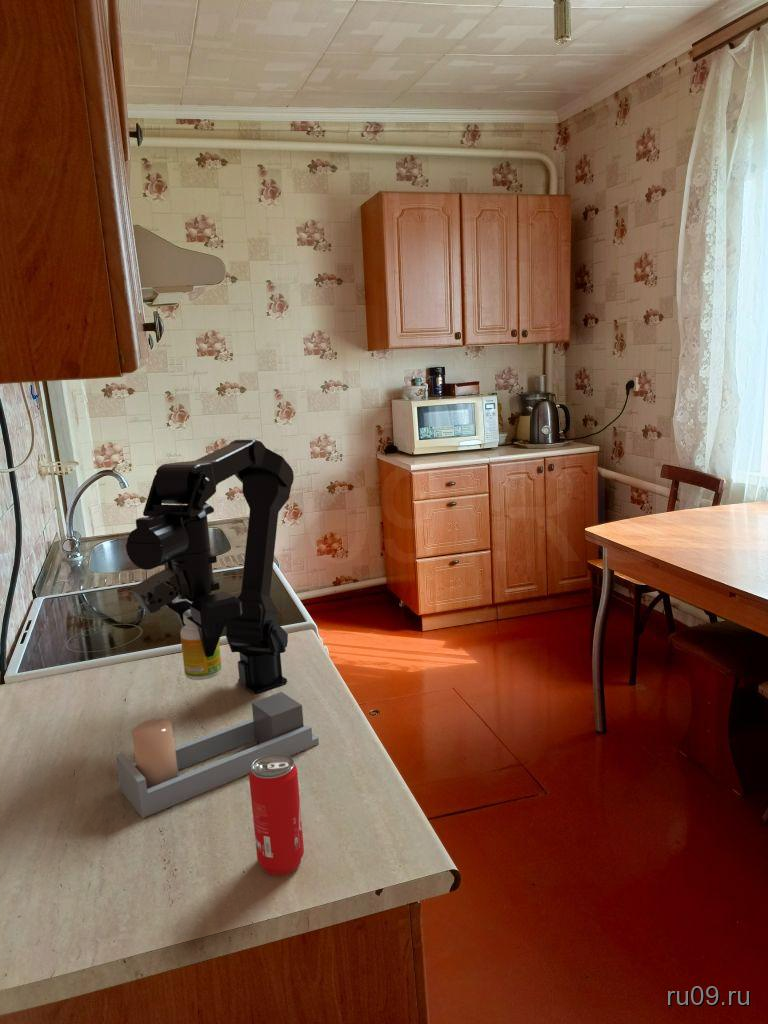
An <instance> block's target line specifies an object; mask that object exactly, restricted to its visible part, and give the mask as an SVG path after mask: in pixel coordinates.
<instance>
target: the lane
mask: <svg viewBox="0 0 768 1024" xmlns="http://www.w3.org/2000/svg"><path fill="white" fill-rule="evenodd" d="M312 730H313V729H312V727H311V726H310V725H308V724H307V725H305V726H304V727H302V728H299V729H297V730H294V731H292V732H289V733H287V734H284V735H282V736H279V737H277V738H274V739H272V740H269V741H267V742H264V743H262V744H260V743H258V744H257V745H254V746H252V747H249V748H247V749H244V750H241V751H239V752H237V753H234V754H231V755H229V756H227V757H224V758H222V759H219V760H217V761H214V762H212V763H209V764H206V765H203V766H201V767H198V768H197V769H194V770H192V771H189V772H186V773H184V774H181V775H179V777H176V778H174V779H171V780H169V781H166V782H164V783H161V784H158V785H156V786H153V787H151V788H148V789H147V785H146V779H145V778H144V776H143V775H142V774H141V773H140V772H139V771H138V769H137V765H136V761H133V762H132V760H130V759H129V758H128V756H127V755H126V754H125V753H124V752H123V751H122V752H119V753H117V754H115V755H114V756H115V763H116V769H117V777H118V786H119V790H120V791H121V793H122V794H124V796H125V797H126V799H127V801H129V803H130V804H131V806H133V808H134V809H135V810H136V812H137V813H138V814H139V815H140V817H141V818H142V819H144V818H147V817H148V816H151V815H154V814H156V813H158V812H161V811H163V810H165V809H168V808H171V807H173V806H175V805H178V804H180V803H182V802H184V801H187V800H190V799H191V798H194V797H197V796H200V795H201V794H204V793H206V792H209V791H211V790H213V789H215V788H218V787H220V786H222V785H225V784H227V783H230V782H233V781H235V780H237V779H239V778H242V777H245V776H246V775H249V773H250V771H251V765H252V763H253V762H254V761H256V760H257V759H258V758H260V757H263V756H266V755H270V754H285V755H288V756H290V757H292V756H294V755H297V754H299V753H302V752H304V751H306V750H308V748H309V747H311V748H313V747H315V746H314V745H316V746H318V745H319V744H320V741H319V737H318V736H316V735H315V734H313V731H312ZM255 741H256V740H255V732H254V721H253V717H252V718H249V719H246V720H244V721H241V722H239V723H235V724H233V725H230V726H228V727H225V728H222V729H220V730H217V731H214V732H212V733H209V734H207V735H205V736H201V737H198V738H196V739H192V740H191V741H188V742H185V743H182V744H179V745H177V746H175V751H176V758H177V766H178V771H180V770H182V769H185V768H188V767H190V766H193V765H195V764H197V763H201V762H203V761H206V760H208V759H210V758H213V757H215V756H218V755H221V754H223V753H226V752H228V751H231V750H233V749H236V748H239V747H241V746H244V745H247V744H248V743H251V742H255ZM317 744H318V745H317ZM312 746H313V747H312ZM305 749H306V750H305ZM309 749H310V748H309ZM303 750H304V751H303ZM301 751H302V752H301ZM296 753H297V754H296Z"/></svg>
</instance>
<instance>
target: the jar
mask: <svg viewBox="0 0 768 1024" xmlns="http://www.w3.org/2000/svg"><path fill="white" fill-rule="evenodd" d="M131 737H132V738H131V739H132V745H133V751H134V757H135V762H136V765H137V769H138V771H139V772H140V773H141V774H142V775H143V776H144V778H145V779H146V785H147V789H148V788H151V787H153V786H156V785H158V784H161V783H164V782H166V781H169V780H171V779H174V778H176V777H179V776H180V775H179V773H180V772H179V770H178V766H177V758H176V751H175V747H176V746H175V739H174V731H173V724H172V722H171V721H170V720H168V719H164V718H156V719H151V720H147V721H144V722H141V723H139V724H137V725H136V726H134V727H133V729H132V730H131Z"/></svg>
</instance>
